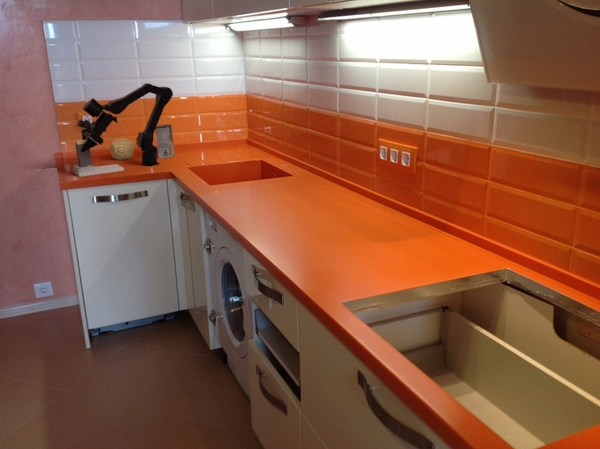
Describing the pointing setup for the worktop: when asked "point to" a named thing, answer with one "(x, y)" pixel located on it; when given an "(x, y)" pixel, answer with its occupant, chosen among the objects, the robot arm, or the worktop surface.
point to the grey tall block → (83, 154)
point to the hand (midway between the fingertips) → (80, 150)
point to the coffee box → (164, 141)
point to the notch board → (96, 169)
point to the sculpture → (122, 149)
